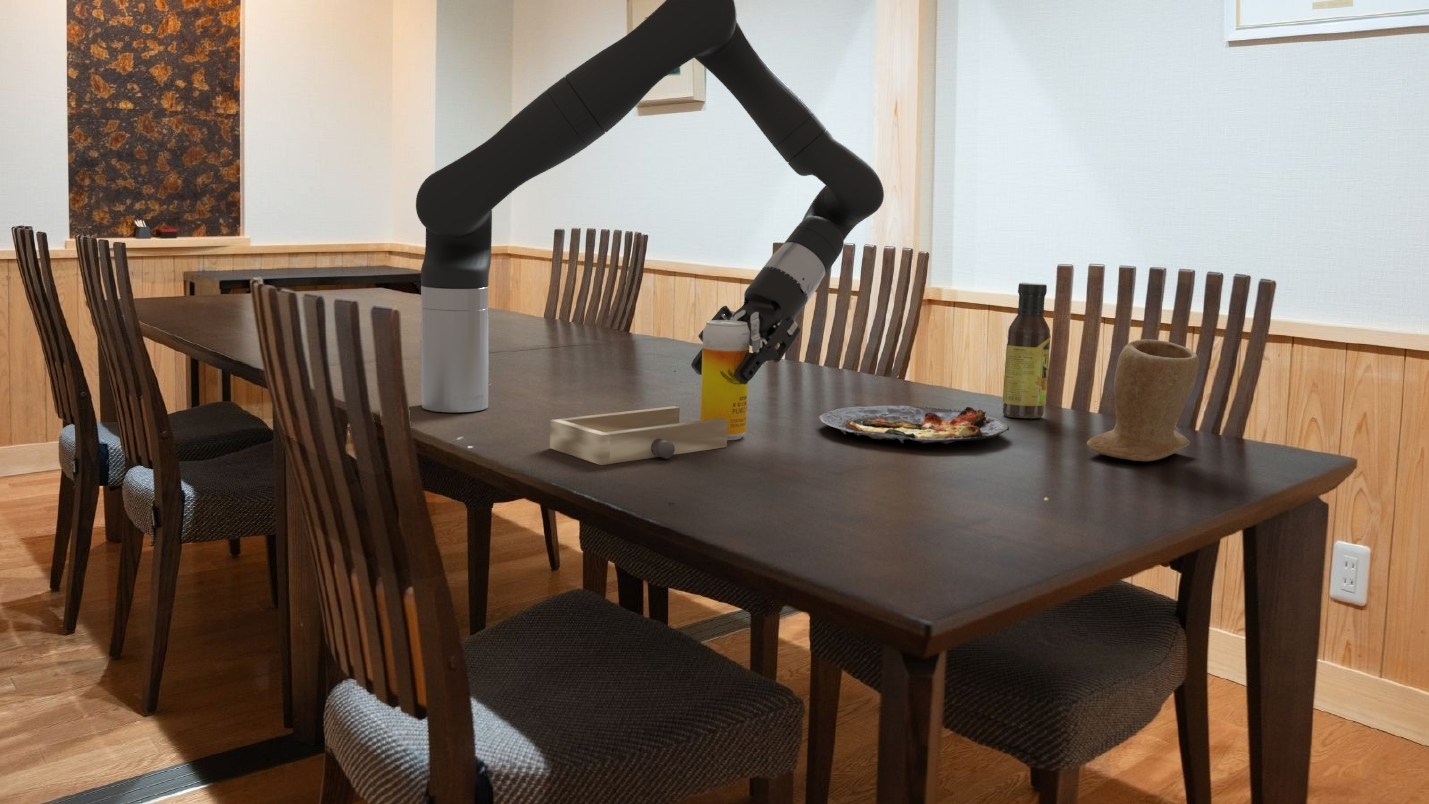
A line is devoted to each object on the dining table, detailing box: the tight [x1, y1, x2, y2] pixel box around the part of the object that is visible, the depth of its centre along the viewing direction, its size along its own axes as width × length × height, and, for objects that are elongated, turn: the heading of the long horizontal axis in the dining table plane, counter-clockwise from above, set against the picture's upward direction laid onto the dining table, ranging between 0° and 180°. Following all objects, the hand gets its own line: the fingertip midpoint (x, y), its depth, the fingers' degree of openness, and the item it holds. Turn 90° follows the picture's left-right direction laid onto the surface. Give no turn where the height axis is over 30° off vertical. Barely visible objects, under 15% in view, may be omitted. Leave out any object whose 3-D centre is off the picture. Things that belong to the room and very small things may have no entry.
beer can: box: [699, 319, 751, 441], centre depth 157 cm, size 6×6×15 cm
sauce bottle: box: [1002, 281, 1052, 419], centre depth 179 cm, size 6×6×20 cm
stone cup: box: [1086, 339, 1200, 462], centre depth 154 cm, size 15×12×15 cm
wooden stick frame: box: [549, 405, 728, 466], centre depth 149 cm, size 15×19×4 cm
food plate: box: [818, 404, 1010, 445], centre depth 165 cm, size 25×23×4 cm
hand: (717, 375), depth 156 cm, fingers open, 8 cm apart
